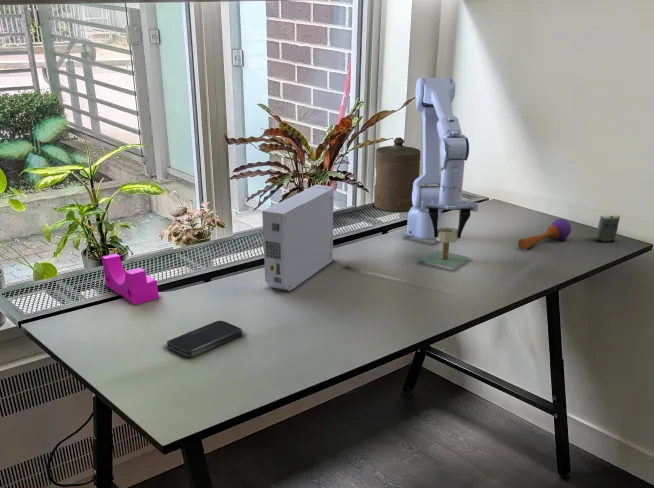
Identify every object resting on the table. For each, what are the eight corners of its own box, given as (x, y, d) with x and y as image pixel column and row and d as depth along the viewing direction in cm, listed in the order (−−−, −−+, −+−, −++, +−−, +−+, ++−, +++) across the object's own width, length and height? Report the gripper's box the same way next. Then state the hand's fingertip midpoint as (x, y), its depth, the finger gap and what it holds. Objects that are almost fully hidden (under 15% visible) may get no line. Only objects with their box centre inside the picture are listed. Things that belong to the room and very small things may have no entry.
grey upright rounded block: (606, 245, 214) (611, 218, 210) (591, 240, 217) (596, 214, 213) (617, 241, 217) (622, 214, 213) (602, 236, 220) (607, 210, 216)
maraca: (513, 233, 209) (558, 216, 219) (515, 253, 211) (559, 235, 221) (530, 235, 204) (574, 217, 214) (531, 255, 207) (575, 237, 217)
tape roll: (432, 240, 195) (433, 230, 194) (442, 234, 199) (442, 225, 198) (451, 244, 193) (452, 234, 191) (460, 238, 197) (461, 229, 195)
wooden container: (394, 197, 255) (397, 131, 244) (426, 206, 246) (431, 138, 235) (364, 205, 246) (366, 137, 235) (397, 214, 237) (400, 144, 226)
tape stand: (419, 263, 198) (420, 244, 195) (436, 253, 205) (437, 234, 202) (452, 271, 193) (454, 251, 190) (468, 260, 200) (470, 241, 198)
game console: (335, 260, 199) (335, 187, 189) (286, 294, 177) (284, 214, 167) (316, 257, 201) (315, 184, 191) (265, 290, 179) (262, 210, 169)
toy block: (158, 298, 174) (155, 268, 171) (134, 304, 171) (130, 274, 167) (129, 279, 184) (125, 251, 180) (106, 285, 180) (101, 256, 177)
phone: (244, 329, 157) (188, 353, 147) (244, 334, 157) (189, 358, 147) (219, 319, 161) (164, 341, 151) (220, 324, 162) (164, 346, 152)
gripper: (423, 188, 186) (420, 240, 192) (481, 190, 185) (475, 242, 192) (422, 181, 192) (419, 232, 198) (478, 183, 191) (473, 233, 198)
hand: (446, 236), depth 196 cm, fingers closed on tape roll, 5 cm apart
